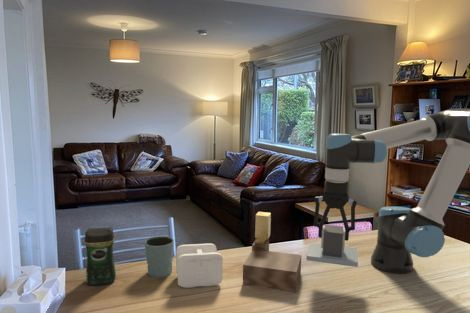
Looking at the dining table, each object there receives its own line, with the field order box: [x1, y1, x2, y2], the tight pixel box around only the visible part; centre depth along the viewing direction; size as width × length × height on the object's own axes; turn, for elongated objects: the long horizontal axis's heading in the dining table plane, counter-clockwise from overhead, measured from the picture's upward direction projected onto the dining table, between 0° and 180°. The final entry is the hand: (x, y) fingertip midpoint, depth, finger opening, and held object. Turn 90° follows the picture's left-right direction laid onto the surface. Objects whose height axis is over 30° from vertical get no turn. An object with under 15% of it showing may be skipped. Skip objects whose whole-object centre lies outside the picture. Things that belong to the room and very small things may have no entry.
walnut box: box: [242, 238, 302, 293], centre depth 137 cm, size 18×23×8 cm
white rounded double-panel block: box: [175, 243, 224, 289], centre depth 130 cm, size 15×11×12 cm
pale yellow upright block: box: [254, 211, 272, 244], centre depth 146 cm, size 5×8×10 cm, turn 164°
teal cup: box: [144, 235, 175, 279], centre depth 136 cm, size 10×10×12 cm
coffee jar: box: [83, 226, 117, 286], centre depth 128 cm, size 10×8×19 cm
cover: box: [305, 224, 359, 268], centre depth 127 cm, size 16×13×10 cm
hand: (332, 247), depth 127 cm, fingers closed on cover, 6 cm apart
